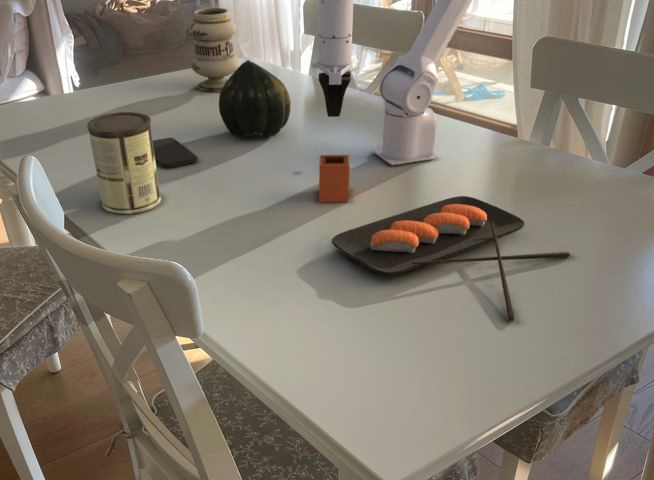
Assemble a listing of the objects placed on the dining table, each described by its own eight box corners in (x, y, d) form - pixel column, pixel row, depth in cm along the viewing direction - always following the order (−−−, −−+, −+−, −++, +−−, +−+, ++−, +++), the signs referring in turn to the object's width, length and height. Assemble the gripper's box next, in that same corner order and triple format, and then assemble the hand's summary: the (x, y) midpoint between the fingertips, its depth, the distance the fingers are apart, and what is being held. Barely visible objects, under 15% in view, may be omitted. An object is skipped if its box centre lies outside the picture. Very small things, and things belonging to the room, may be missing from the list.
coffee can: (119, 188, 129) (107, 109, 121) (170, 194, 126) (161, 114, 118) (89, 210, 121) (74, 128, 113) (143, 217, 118) (131, 133, 110)
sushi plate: (463, 203, 120) (466, 181, 117) (619, 274, 99) (626, 249, 96) (322, 249, 107) (323, 226, 105) (467, 341, 86) (472, 315, 84)
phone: (172, 136, 149) (199, 157, 138) (173, 140, 150) (199, 161, 138) (138, 143, 146) (163, 164, 135) (139, 147, 147) (163, 169, 136)
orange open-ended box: (347, 190, 125) (348, 202, 121) (319, 190, 126) (319, 202, 122) (348, 154, 122) (349, 165, 118) (319, 154, 122) (319, 165, 118)
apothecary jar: (188, 92, 179) (180, 15, 169) (199, 80, 189) (193, 6, 179) (234, 93, 177) (230, 15, 167) (244, 81, 187) (240, 6, 177)
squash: (272, 124, 140) (284, 52, 141) (202, 121, 144) (214, 51, 145) (290, 152, 153) (301, 86, 154) (226, 150, 157) (237, 85, 159)
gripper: (312, 26, 127) (312, 104, 135) (311, 45, 115) (311, 128, 123) (352, 26, 127) (349, 103, 134) (354, 44, 115) (351, 128, 123)
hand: (333, 115), depth 129 cm, fingers closed
